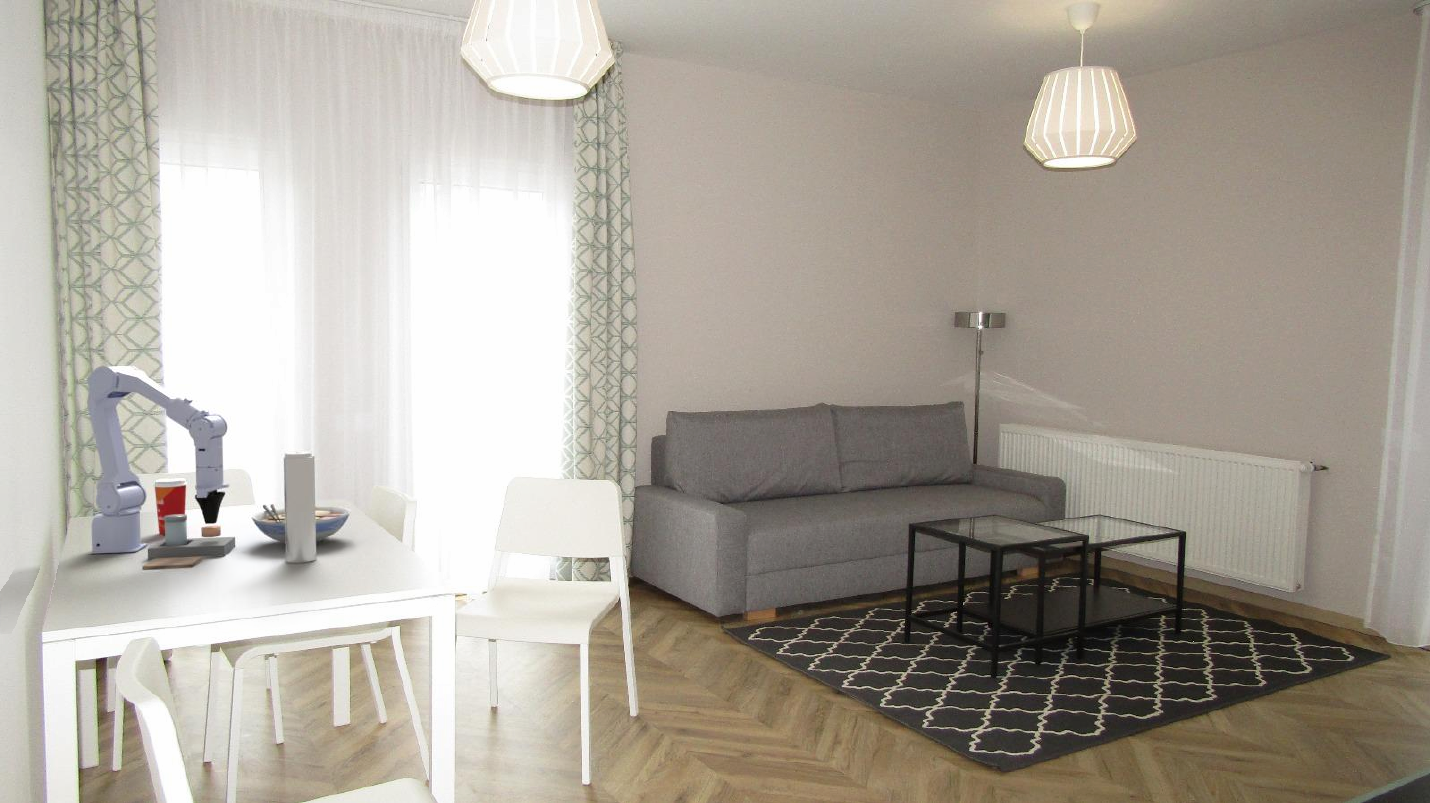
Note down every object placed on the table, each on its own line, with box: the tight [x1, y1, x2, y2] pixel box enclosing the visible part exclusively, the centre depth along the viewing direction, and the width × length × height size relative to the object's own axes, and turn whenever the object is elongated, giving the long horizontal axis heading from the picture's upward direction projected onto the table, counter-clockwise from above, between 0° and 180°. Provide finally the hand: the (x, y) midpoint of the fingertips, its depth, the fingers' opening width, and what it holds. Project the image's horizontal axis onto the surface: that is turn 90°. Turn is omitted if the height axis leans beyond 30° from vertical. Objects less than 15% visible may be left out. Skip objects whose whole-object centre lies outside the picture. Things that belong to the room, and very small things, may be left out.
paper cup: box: [153, 477, 188, 536], centre depth 242 cm, size 8×8×14 cm
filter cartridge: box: [164, 513, 188, 546], centre depth 219 cm, size 5×5×9 cm
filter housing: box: [147, 536, 236, 560], centre depth 220 cm, size 16×10×2 cm, turn 104°
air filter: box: [283, 451, 317, 564], centre depth 213 cm, size 6×6×25 cm
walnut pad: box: [142, 556, 204, 570], centre depth 210 cm, size 10×8×1 cm
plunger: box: [200, 525, 222, 538], centre depth 221 cm, size 4×4×2 cm
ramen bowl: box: [251, 504, 352, 544], centre depth 233 cm, size 25×23×8 cm
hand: (210, 523), depth 221 cm, fingers closed
